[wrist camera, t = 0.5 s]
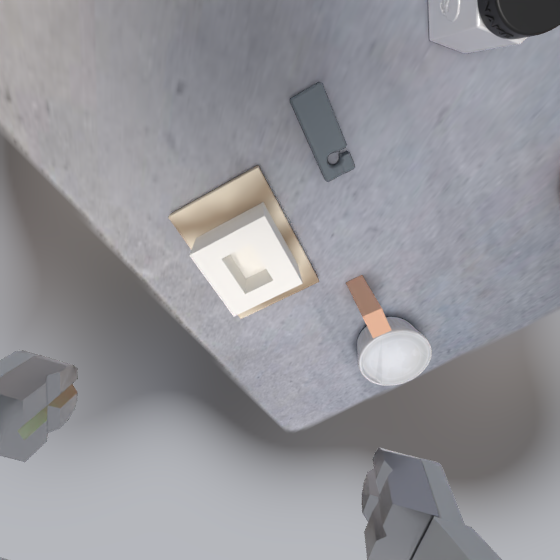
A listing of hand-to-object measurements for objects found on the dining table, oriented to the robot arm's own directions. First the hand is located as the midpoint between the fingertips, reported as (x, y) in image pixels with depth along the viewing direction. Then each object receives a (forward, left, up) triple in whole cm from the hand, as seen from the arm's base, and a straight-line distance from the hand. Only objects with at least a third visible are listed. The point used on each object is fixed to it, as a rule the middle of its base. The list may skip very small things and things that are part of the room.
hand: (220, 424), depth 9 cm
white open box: (+11, -1, -37) cm, 39 cm away
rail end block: (+19, +15, -38) cm, 46 cm away
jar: (-15, +24, -39) cm, 48 cm away
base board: (+11, -1, -38) cm, 40 cm away
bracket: (-3, +9, -39) cm, 40 cm away
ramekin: (+29, +20, -39) cm, 53 cm away
